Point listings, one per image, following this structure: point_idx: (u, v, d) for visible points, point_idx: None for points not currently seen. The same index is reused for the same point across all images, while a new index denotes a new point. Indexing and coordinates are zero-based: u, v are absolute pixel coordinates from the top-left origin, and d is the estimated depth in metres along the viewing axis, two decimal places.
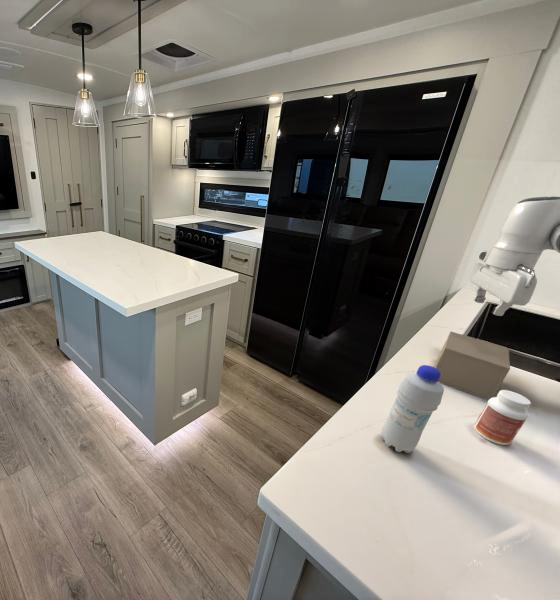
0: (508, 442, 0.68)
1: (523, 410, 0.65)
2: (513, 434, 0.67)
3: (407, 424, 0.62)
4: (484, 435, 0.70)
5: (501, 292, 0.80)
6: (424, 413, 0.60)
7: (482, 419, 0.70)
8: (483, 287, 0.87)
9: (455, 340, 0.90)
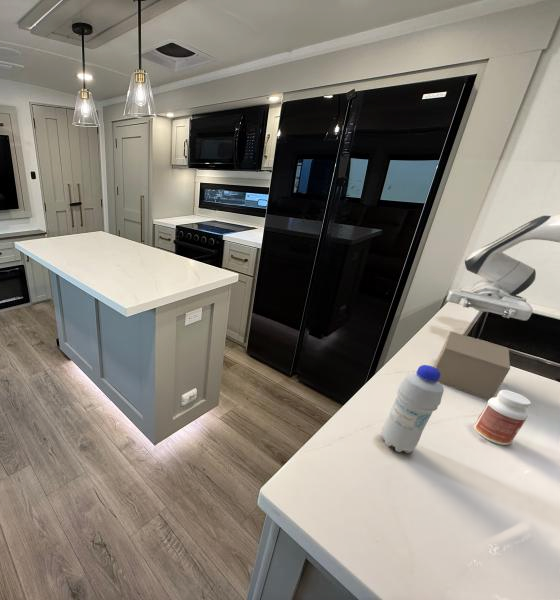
0: (508, 442, 0.68)
1: (523, 410, 0.65)
2: (513, 434, 0.67)
3: (407, 424, 0.62)
4: (484, 435, 0.70)
5: None
6: (424, 413, 0.60)
7: (482, 419, 0.70)
8: (493, 312, 1.02)
9: (455, 340, 0.90)
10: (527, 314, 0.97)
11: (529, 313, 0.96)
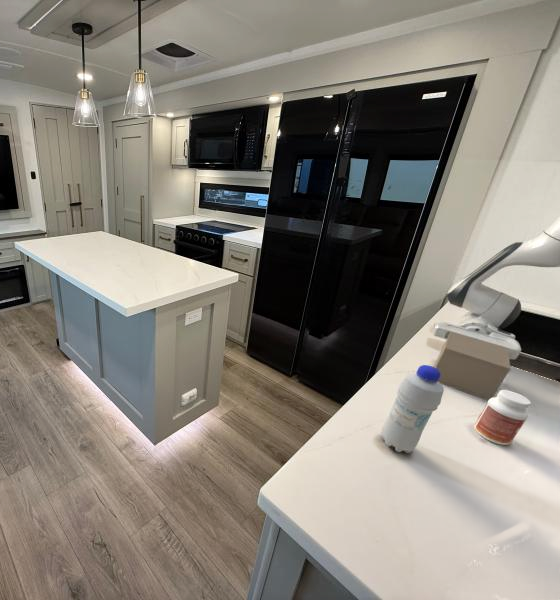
0: (508, 442, 0.68)
1: (523, 410, 0.65)
2: (513, 434, 0.67)
3: (407, 424, 0.62)
4: (484, 435, 0.70)
5: None
6: (424, 413, 0.60)
7: (482, 419, 0.70)
8: None
9: (455, 340, 0.90)
10: (515, 353, 0.92)
11: (517, 352, 0.92)
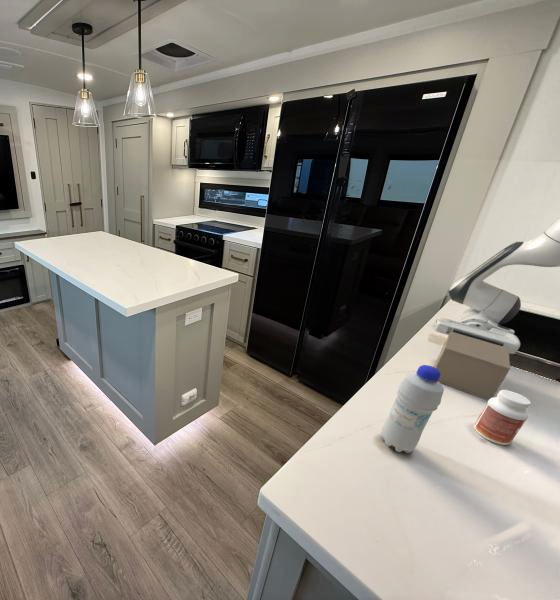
0: (508, 442, 0.68)
1: (523, 410, 0.65)
2: (513, 434, 0.67)
3: (407, 424, 0.62)
4: (484, 435, 0.70)
5: None
6: (424, 413, 0.60)
7: (482, 419, 0.70)
8: None
9: (455, 340, 0.90)
10: (515, 348, 0.95)
11: (516, 347, 0.95)
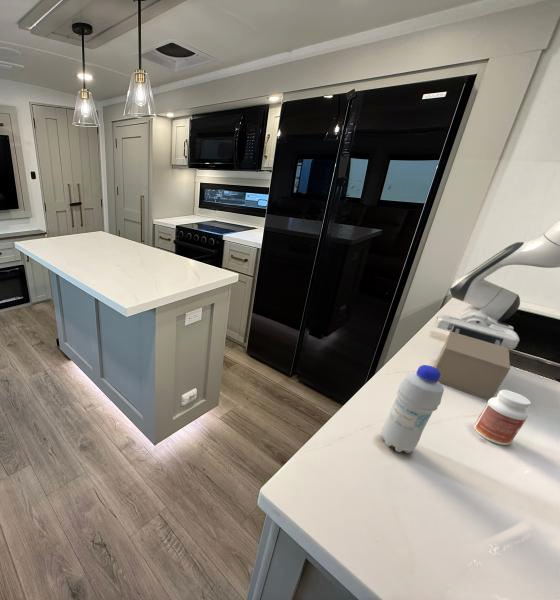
0: (508, 442, 0.68)
1: (523, 410, 0.65)
2: (513, 434, 0.67)
3: (407, 424, 0.62)
4: (484, 435, 0.70)
5: None
6: (424, 413, 0.60)
7: (482, 419, 0.70)
8: None
9: (455, 340, 0.90)
10: (514, 343, 0.98)
11: (515, 342, 0.98)
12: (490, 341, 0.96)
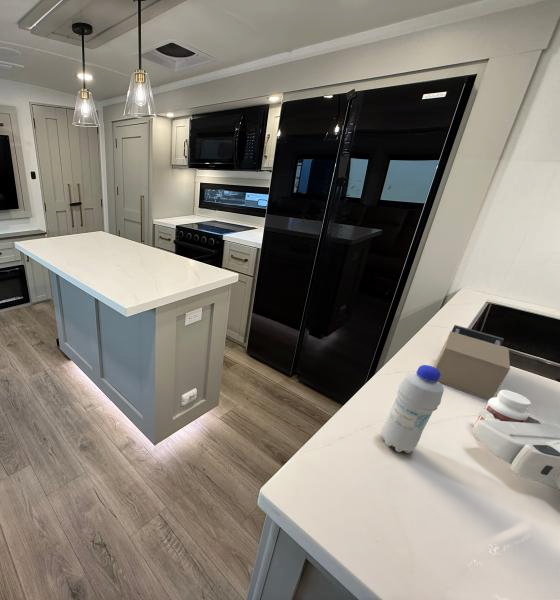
0: None
1: (523, 410, 0.65)
2: None
3: (407, 424, 0.62)
4: None
5: None
6: (424, 413, 0.60)
7: (482, 419, 0.70)
8: None
9: (455, 340, 0.90)
10: (477, 423, 0.65)
11: None
12: (490, 341, 0.95)
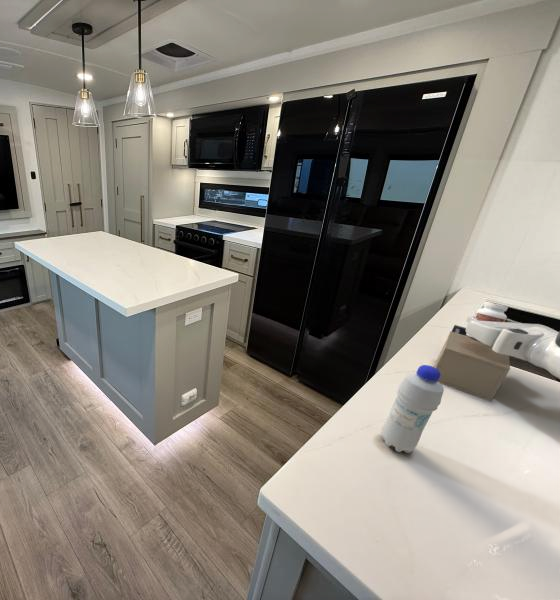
0: None
1: (503, 312, 0.87)
2: None
3: (407, 424, 0.62)
4: None
5: None
6: (424, 413, 0.60)
7: None
8: None
9: (455, 340, 0.90)
10: None
11: (468, 322, 0.85)
12: None
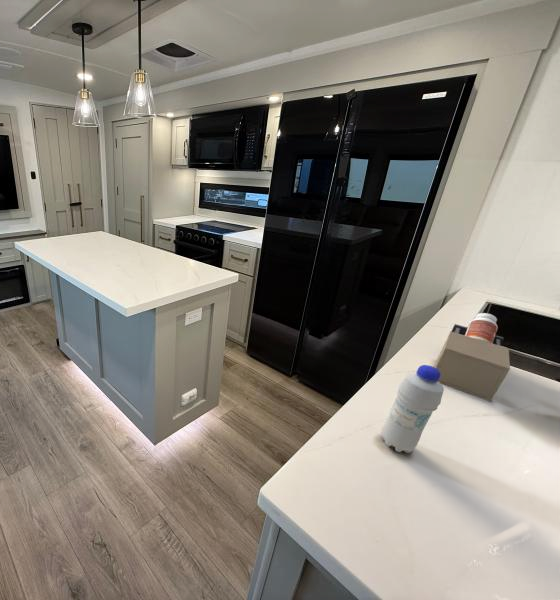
0: (490, 342, 0.90)
1: None
2: (492, 336, 0.91)
3: (407, 424, 0.62)
4: (474, 336, 0.92)
5: None
6: (424, 413, 0.60)
7: (469, 329, 0.95)
8: None
9: (455, 340, 0.90)
10: None
11: None
12: None
